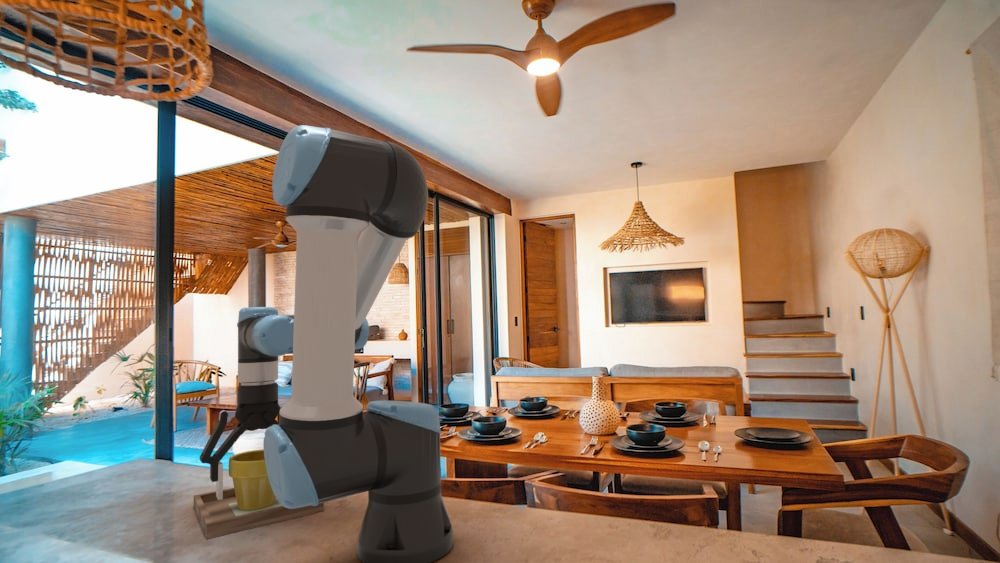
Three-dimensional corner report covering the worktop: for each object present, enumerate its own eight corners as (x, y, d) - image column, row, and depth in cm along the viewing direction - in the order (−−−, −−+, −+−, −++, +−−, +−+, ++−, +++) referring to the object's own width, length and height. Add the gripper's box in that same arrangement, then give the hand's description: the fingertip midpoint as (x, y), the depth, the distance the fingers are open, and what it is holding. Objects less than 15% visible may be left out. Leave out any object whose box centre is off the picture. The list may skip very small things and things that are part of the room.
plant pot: (294, 495, 107) (294, 447, 107) (268, 514, 96) (268, 461, 97) (247, 495, 107) (248, 448, 108) (216, 514, 97) (216, 461, 98)
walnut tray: (323, 510, 100) (323, 498, 100) (206, 539, 88) (206, 524, 88) (295, 486, 116) (295, 475, 116) (193, 507, 104) (193, 495, 104)
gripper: (314, 376, 114) (314, 473, 113) (184, 387, 99) (182, 499, 98) (325, 378, 108) (325, 481, 107) (189, 390, 93) (186, 510, 92)
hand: (257, 490), depth 102 cm, fingers open, 13 cm apart
